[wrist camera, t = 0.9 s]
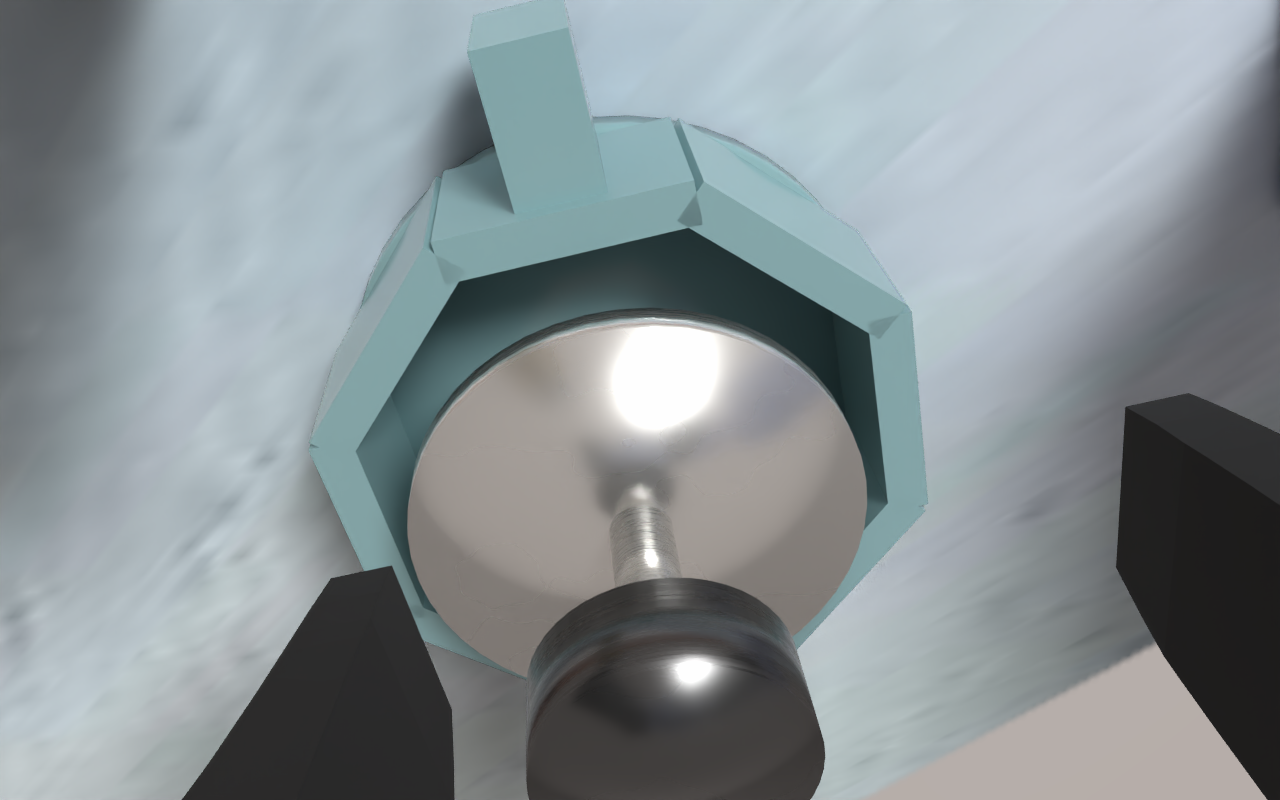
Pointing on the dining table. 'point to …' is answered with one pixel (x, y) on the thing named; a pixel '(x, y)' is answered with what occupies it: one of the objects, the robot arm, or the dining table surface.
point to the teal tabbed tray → (603, 287)
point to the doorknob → (644, 549)
